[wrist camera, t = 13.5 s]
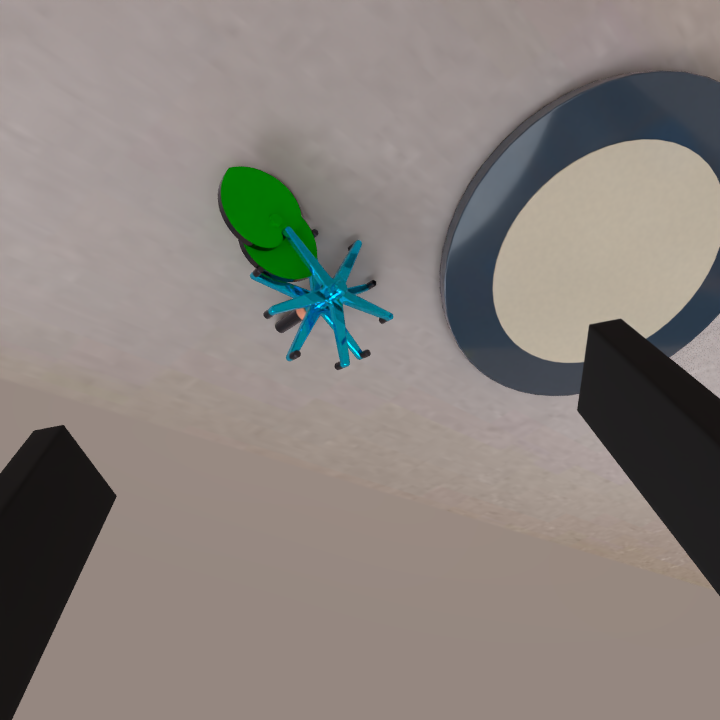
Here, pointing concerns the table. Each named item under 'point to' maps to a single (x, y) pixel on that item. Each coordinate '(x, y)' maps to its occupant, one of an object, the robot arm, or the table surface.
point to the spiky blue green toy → (291, 259)
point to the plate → (589, 230)
